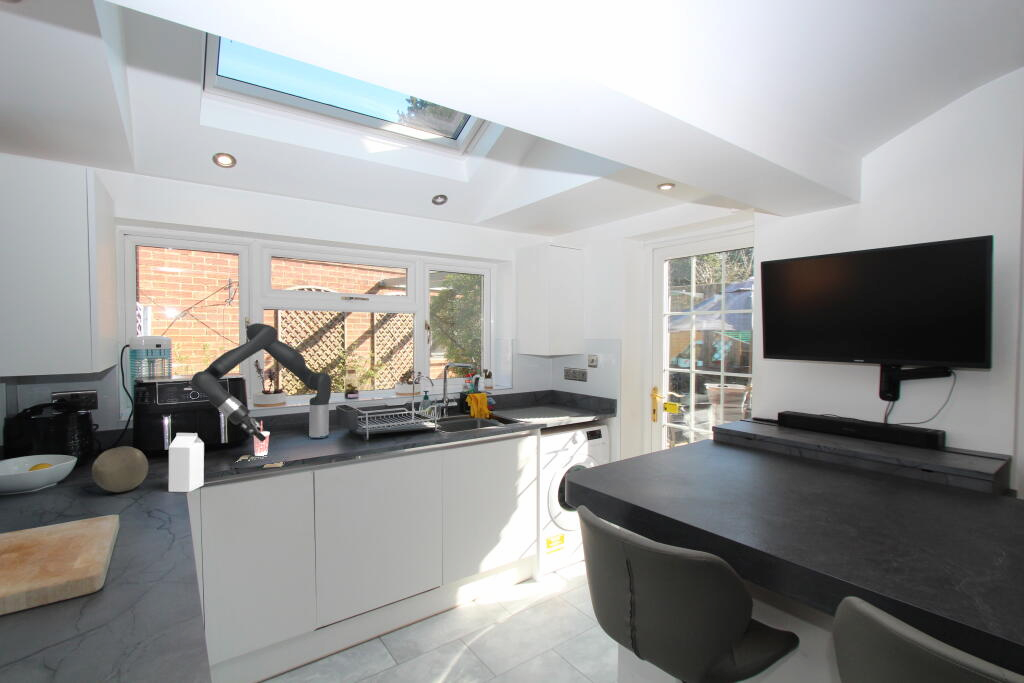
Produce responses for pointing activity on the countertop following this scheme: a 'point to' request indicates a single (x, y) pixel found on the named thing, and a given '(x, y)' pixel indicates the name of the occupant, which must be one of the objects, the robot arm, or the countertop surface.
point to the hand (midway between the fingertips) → (265, 438)
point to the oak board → (262, 458)
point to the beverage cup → (261, 444)
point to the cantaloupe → (120, 469)
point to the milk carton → (186, 463)
